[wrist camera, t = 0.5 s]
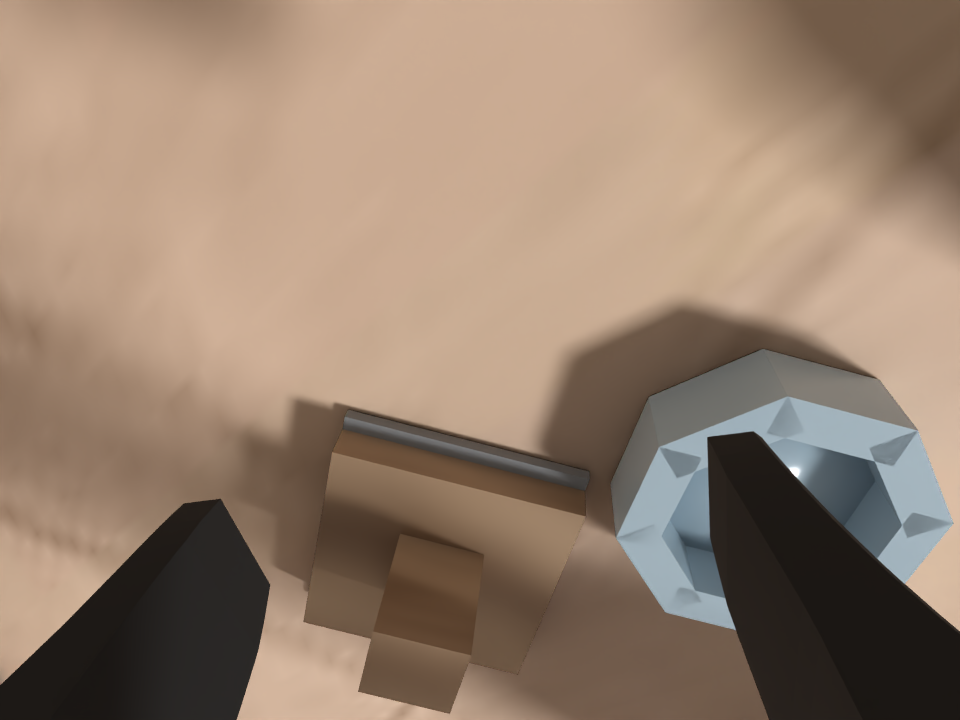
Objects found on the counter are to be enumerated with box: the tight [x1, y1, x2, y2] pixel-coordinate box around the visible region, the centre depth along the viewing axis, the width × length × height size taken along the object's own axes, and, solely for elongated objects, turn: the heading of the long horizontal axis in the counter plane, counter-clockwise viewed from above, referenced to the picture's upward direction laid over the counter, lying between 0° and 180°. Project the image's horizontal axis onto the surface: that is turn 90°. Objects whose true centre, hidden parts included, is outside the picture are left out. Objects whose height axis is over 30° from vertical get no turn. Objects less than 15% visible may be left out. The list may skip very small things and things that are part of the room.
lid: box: [304, 429, 586, 714], centre depth 22 cm, size 8×8×5 cm
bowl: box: [611, 349, 954, 630], centre depth 21 cm, size 8×8×2 cm
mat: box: [343, 410, 590, 491], centre depth 25 cm, size 9×8×1 cm
